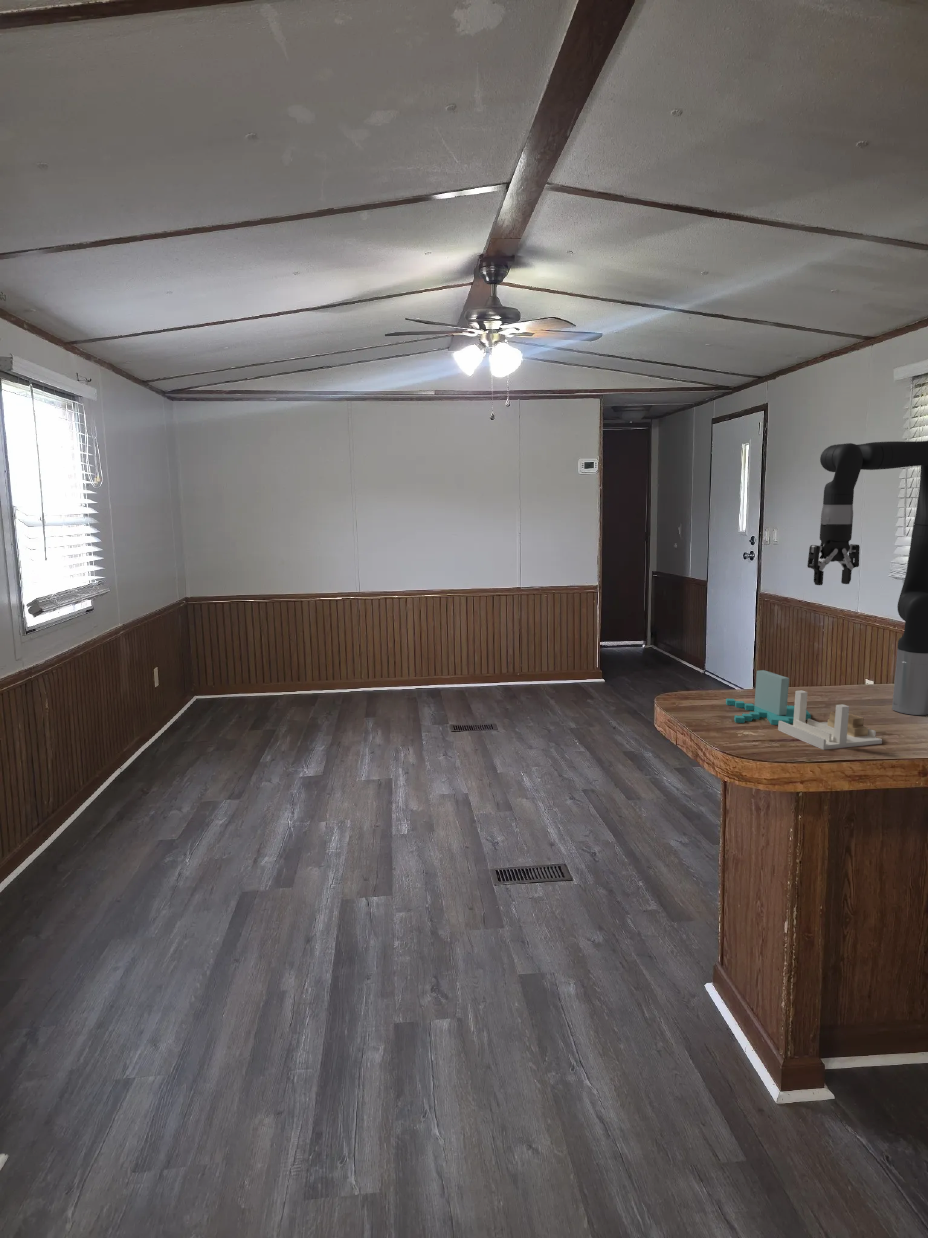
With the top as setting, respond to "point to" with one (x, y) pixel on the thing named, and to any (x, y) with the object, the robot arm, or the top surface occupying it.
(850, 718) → the offcut top
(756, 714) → the alien figure
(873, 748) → the top surface
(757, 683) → the grey-green square slab
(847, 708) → the rack
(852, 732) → the offcut low
